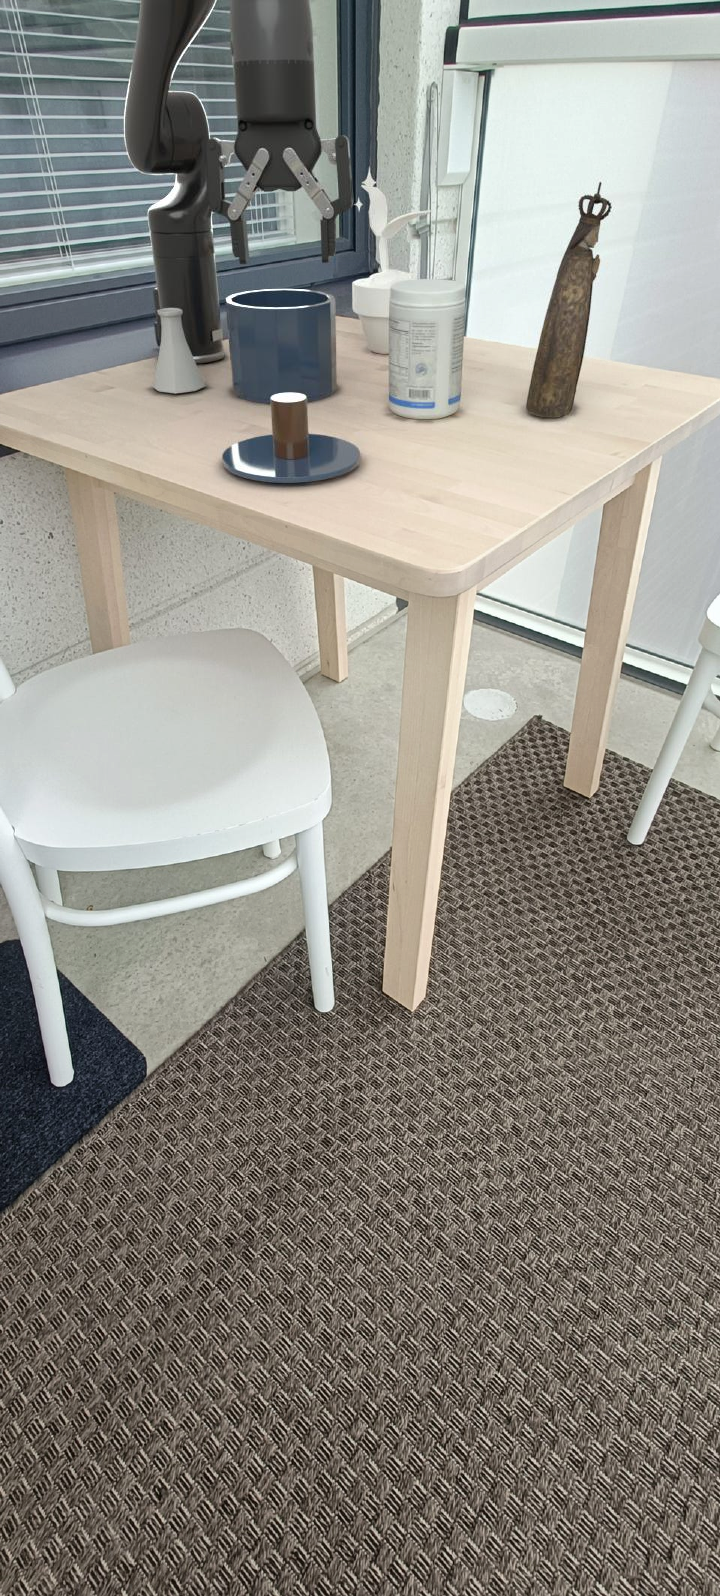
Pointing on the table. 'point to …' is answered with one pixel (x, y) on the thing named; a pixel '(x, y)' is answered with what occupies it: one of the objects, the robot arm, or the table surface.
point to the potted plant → (375, 290)
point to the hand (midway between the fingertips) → (285, 262)
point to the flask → (175, 357)
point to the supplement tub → (426, 347)
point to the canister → (282, 343)
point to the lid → (290, 448)
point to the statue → (567, 319)
